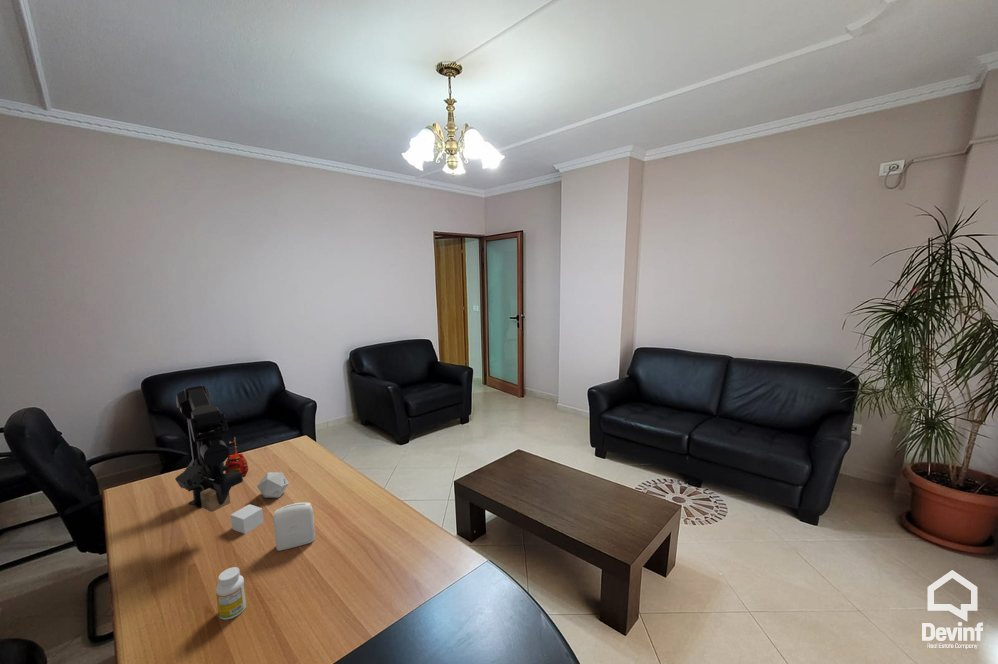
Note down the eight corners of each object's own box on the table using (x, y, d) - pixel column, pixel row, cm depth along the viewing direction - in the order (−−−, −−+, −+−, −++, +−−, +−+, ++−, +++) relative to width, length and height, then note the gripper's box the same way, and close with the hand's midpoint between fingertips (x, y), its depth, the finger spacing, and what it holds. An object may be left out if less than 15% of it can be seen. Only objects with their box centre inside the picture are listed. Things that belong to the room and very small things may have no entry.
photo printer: (274, 553, 108) (271, 513, 106) (276, 543, 112) (273, 505, 110) (315, 543, 112) (312, 504, 110) (315, 534, 116) (312, 497, 114)
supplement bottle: (228, 601, 92) (224, 565, 90) (251, 600, 92) (247, 564, 91) (213, 621, 86) (208, 583, 85) (238, 619, 87) (234, 581, 86)
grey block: (232, 529, 118) (230, 514, 117) (251, 518, 124) (249, 504, 123) (245, 534, 116) (243, 519, 115) (263, 522, 121) (262, 508, 121)
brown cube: (202, 507, 112) (200, 492, 112) (220, 498, 117) (218, 483, 116) (212, 512, 110) (210, 496, 110) (230, 502, 115) (228, 487, 114)
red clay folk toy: (223, 481, 145) (219, 444, 143) (228, 473, 152) (224, 437, 149) (247, 477, 148) (243, 441, 146) (250, 469, 155) (247, 434, 152)
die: (267, 507, 130) (285, 481, 132) (246, 493, 131) (265, 467, 133) (280, 502, 139) (298, 477, 140) (261, 488, 139) (278, 464, 141)
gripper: (159, 458, 108) (166, 509, 110) (198, 472, 100) (205, 526, 102) (203, 443, 118) (208, 489, 120) (241, 454, 110) (246, 503, 113)
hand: (216, 501), depth 113 cm, fingers closed on brown cube, 5 cm apart
